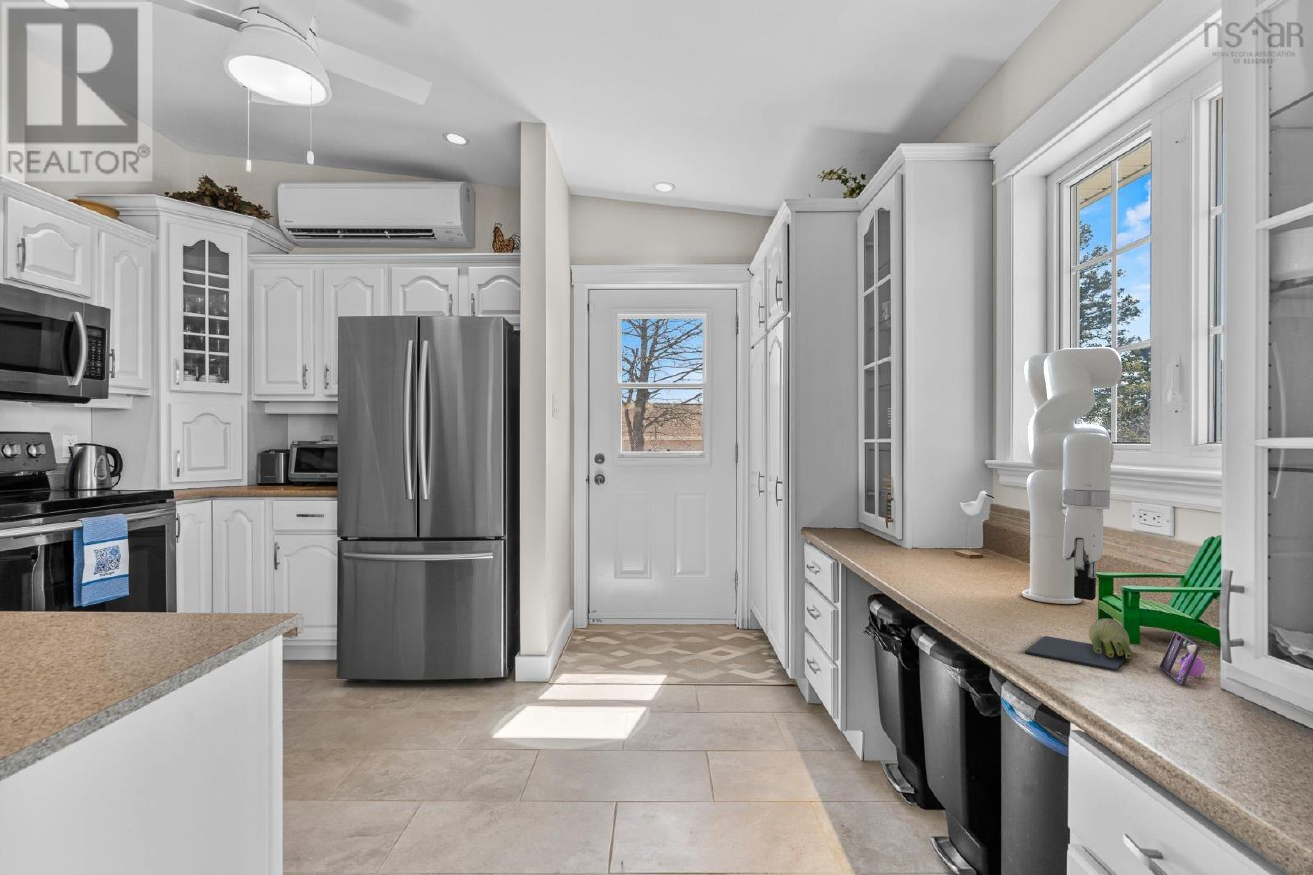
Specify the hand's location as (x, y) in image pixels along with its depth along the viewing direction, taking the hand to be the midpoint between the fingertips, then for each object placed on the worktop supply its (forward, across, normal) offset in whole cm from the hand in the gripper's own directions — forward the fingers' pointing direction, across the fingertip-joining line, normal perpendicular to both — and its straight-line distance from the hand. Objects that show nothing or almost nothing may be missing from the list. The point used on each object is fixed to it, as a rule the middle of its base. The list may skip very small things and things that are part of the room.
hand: (1084, 598), depth 131 cm
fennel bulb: (+6, -5, +3) cm, 8 cm away
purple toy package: (+9, +8, +16) cm, 20 cm away
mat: (+9, +5, 0) cm, 10 cm away
